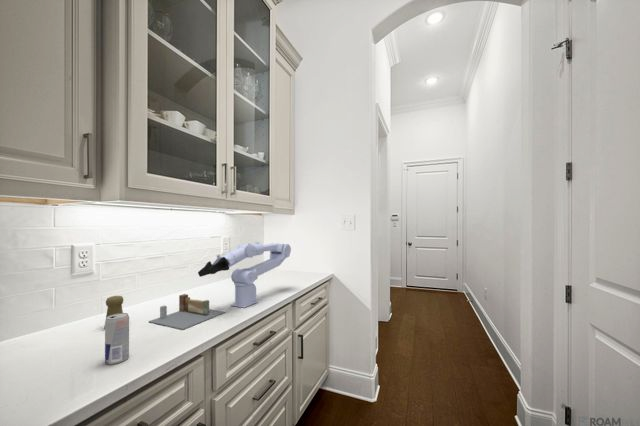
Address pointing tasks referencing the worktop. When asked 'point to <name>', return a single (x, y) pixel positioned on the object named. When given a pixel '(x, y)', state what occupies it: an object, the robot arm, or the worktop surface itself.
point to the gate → (197, 305)
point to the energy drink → (116, 338)
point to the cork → (114, 305)
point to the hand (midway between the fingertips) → (204, 272)
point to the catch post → (163, 312)
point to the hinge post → (182, 302)
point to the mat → (186, 319)
